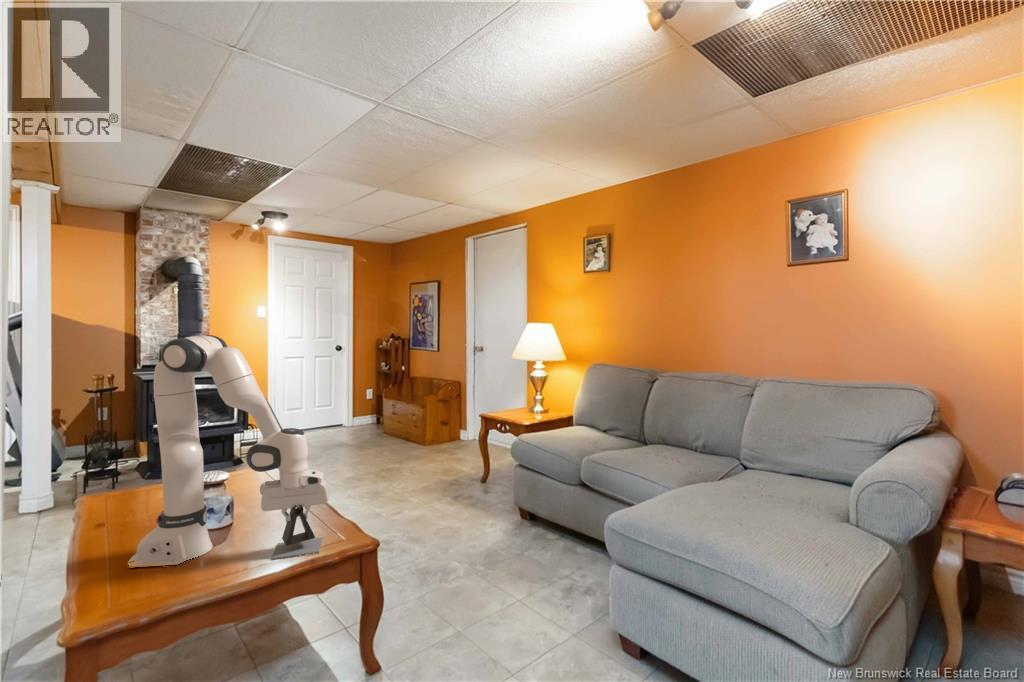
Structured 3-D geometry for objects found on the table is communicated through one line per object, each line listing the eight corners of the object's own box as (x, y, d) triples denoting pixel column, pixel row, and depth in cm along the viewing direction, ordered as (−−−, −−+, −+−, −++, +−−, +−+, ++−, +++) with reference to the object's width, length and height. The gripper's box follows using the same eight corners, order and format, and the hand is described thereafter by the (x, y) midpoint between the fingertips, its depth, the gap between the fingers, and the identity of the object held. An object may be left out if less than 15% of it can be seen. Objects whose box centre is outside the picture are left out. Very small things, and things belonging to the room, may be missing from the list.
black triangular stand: (285, 546, 156) (282, 509, 155) (282, 539, 161) (279, 503, 160) (315, 538, 161) (312, 502, 160) (311, 531, 166) (308, 496, 165)
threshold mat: (271, 560, 153) (271, 558, 153) (278, 544, 164) (277, 543, 164) (319, 553, 157) (318, 551, 157) (322, 538, 168) (322, 537, 168)
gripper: (257, 485, 154) (259, 528, 154) (326, 477, 159) (328, 519, 160) (261, 479, 160) (264, 520, 160) (328, 471, 165) (330, 512, 166)
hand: (296, 519), depth 160 cm, fingers closed on black triangular stand, 3 cm apart
